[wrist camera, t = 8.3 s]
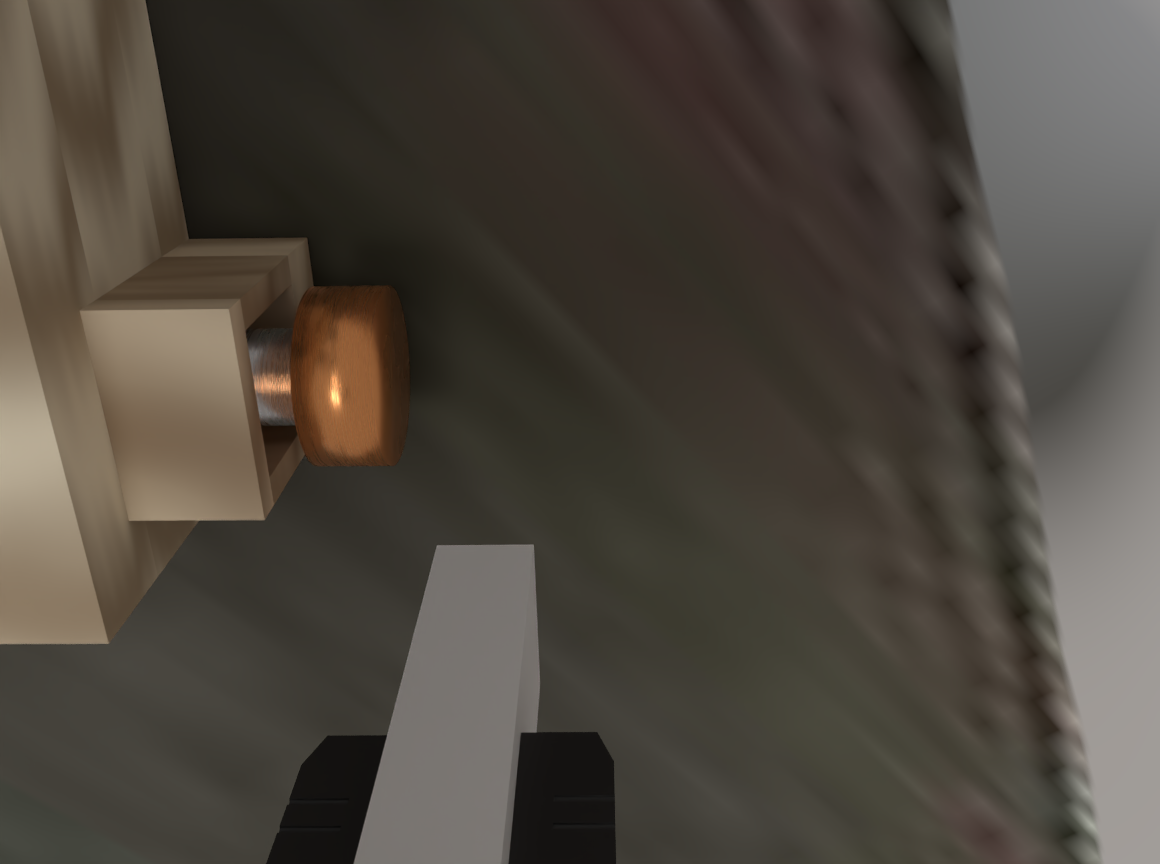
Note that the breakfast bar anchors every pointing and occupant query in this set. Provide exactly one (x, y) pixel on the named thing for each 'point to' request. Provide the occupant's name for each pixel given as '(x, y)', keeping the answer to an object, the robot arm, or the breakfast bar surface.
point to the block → (116, 331)
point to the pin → (338, 375)
